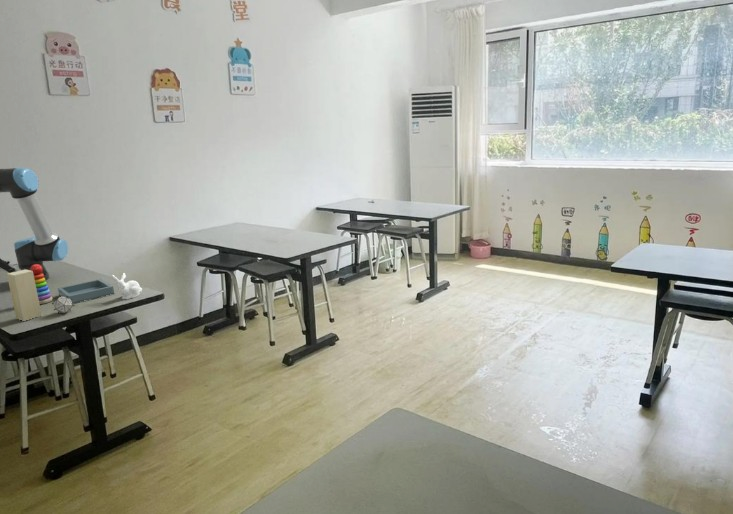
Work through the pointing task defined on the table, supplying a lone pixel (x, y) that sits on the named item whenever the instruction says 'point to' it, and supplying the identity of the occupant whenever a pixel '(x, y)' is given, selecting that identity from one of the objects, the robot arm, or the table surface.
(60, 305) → the game die
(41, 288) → the stacking toy
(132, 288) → the rabbit
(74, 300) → the tray
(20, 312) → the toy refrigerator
